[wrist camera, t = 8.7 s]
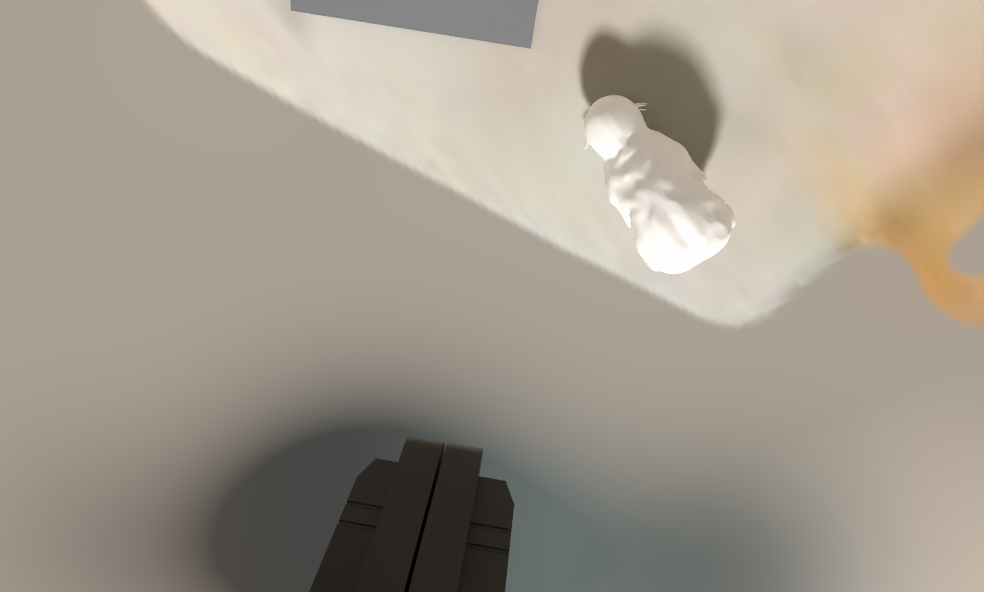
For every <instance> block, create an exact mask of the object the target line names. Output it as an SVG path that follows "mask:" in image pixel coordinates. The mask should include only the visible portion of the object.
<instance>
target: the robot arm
mask: <svg viewBox="0 0 984 592" xmlns="http://www.w3.org/2000/svg"><path fill="white" fill-rule="evenodd" d="M444 448H445V443H444V442H440V441H434V440H429V439H423V438H417V437H411V436H408V437H407V439H406V442H405V444H404V447H403V450H402V453H401V456H400V459H399V462H392V461H387V460H382V459H375V460H374V461H373V462H372V463H371V464H370V465H369V466H368V467H367V468H366V469H365V470H364V471H363V472H362V473H360V474H359V476H357V478H356V481H355V483H354V485H353V488H352V490H351V493H350V495H349V497H348V500H347V504H346V505H345V507H344V510H343V512H342V514H341V517H340V519H339V523H338V525H337V526H336V529H335V531H334V534H333V536H332V538H331V541H330V543H329V546H328V548H327V551H326V553H325V555H324V558H323V560H322V562H321V565H320V567H319V570H318V572H317V575H316V577H315V579H314V582H313V584H312V587H311V589H310V591H309V592H505V585H506V576H507V566H508V557H509V548H510V538H511V528H512V519H513V509H514V503H513V500H512V498H511V495H510V492H509V489H508V487H507V484H506V481H502V480H497V479H491V478H485V477H480V476H479V474H480V468H481V462H482V455H483V449H482V448H475V447H470V446H464V445H459V444H452V443H447V445H446V448H445V452H444Z"/></svg>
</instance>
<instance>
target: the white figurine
mask: <svg viewBox="0 0 984 592" xmlns="http://www.w3.org/2000/svg"><path fill="white" fill-rule="evenodd" d="M644 104H648V103H642V104H640V103H636V104H634V103H633V102H632V101H630V100H629V99H627V98H625V97H623V96H619V95H609V96H606V97H602V98H600V99H598V100H597V101H596V102H594V103H593V105H592V106H591V107H590V109H589V111H588V112H587V115H586V118H585V122H584V129H585V134H586V137H587V142H586V145H585V148H586V146H587V148H588V146H589V144H590V145H591V149H592V147H593V148H594V150H595V151H596V152H598V153H599V154H600V155H601V156H602V157H603V159H604V164H605V168H604V171H605V183H606V189H607V195H608V198H609V200H610V202H611V203H612V204H613V205H614V206H615V207H616V208H617V209H618V210H619V212H620V213H621V215H622V216H623V218H624V220H625V222H626V224H627V226H628V227H631V233H632V235H633V237H634V242H635V246H636V249H637V251H638V252H639V254H640V255H641V256H642V258H643V260H644V261H645V263H646V264H647V265H648V266H649V267H650V268H651V269H652V270H654V271H660V270H661V271H662V272H665V273H668V274H677V273H681V272H684V271H687V270H689V269H691V268H692V267H694V266H696V265H697V264H699V263H700V262H702V261H704V260H706V259H708V258H709V257H711V256H713V255H715V254H716V253H717V252H719V251H720V250H721V249H722V248H723V247H724V246H725V245H726V243H727V242H728V240H729V237H730V234H731V232H732V228H733V227H734V226H735V224H736V220H735V217H734V214H733V212H732V210H731V208H730V207H729V205H728V204H726V203H725V201H724V200H723V199H722V198H721V197H720V196H719V195H717V194H716V193H714V192H712V191H711V190H709V189H708V187H707V186H706V185H705V184H703V181H704V180H705V179H706V178H707V176H706V175H705V173H704V172H702V171H701V170H700V169H699V168H698V167H697V165H696V164H695V163H694V162H693V161H692V159H691V158H690V156H689V154H688V152H687V150H686V149H685V148H684V147H683V146H682V145H681V144H680V143H678V142H676V141H674V140H672V139H671V138H669V137H667V136H665V135H663V134H662V133H660V132H658V131H655V130H651V129H649V128H648V127H647V126H646V124H645V121H644V119H643V116H642V114H641V113H642V112H640V110H646V109H638V107H642V106H647V105H644ZM650 104H651V103H650ZM588 142H589V143H588ZM587 144H588V145H587ZM585 148H584V150H585ZM587 148H586V149H587ZM590 151H591V150H590Z"/></svg>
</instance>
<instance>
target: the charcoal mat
mask: <svg viewBox="0 0 984 592" xmlns="http://www.w3.org/2000/svg"><path fill="white" fill-rule="evenodd" d="M537 3H538V0H291V11H298V12H304V13H310V14H317V15H323V16H329V17H336V18H342V19H348V20H354V21H361V22H367V23H373V24H380V25H386V26H392V27H399V28H405V29H411V30H417V31H424V32H430V33H436V34H443V35H449V36H455V37H462V38H468V39H474V40H480V41H487V42H493V43H499V44H506V45H512V46H518V47H525V48H531V41H532V35H533V29H534V22H535V16H536V9H537Z"/></svg>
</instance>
